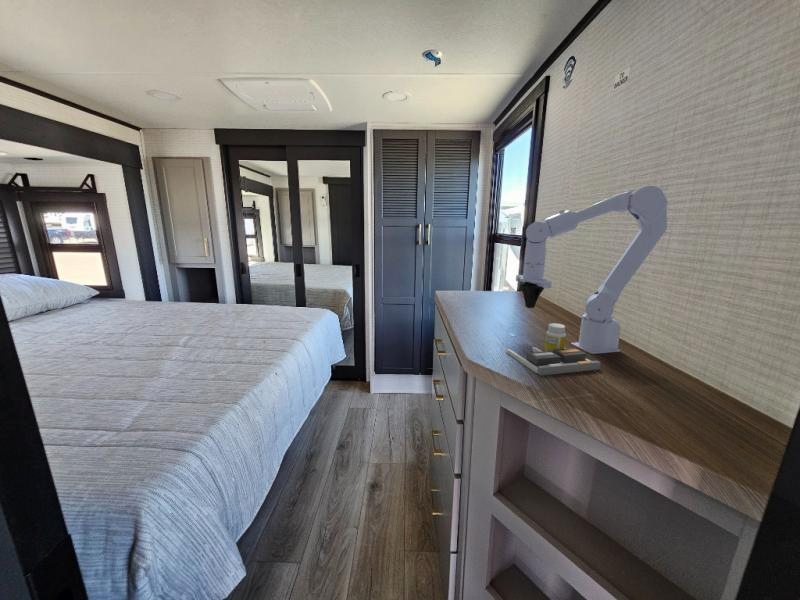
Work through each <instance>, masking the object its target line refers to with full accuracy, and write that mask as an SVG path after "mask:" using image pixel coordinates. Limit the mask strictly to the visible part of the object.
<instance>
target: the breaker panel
mask: <svg viewBox="0 0 800 600" xmlns="http://www.w3.org/2000/svg"><path fill="white" fill-rule="evenodd" d="M564 349H567V348H566V347H565V348H564ZM531 351H532V352H540V351H542V350H541V349H539V348H537V347H535V346H534V347H532V348H531ZM506 354H508V355H509V356H511V357H512V358H513V359H515V360H517V361H518V363H519V362H520V364H522V365H524V366H525V367H527V368H528V369H529V370H532V372H534V373H535V374H537V375H538V376H548V375H558V374H559V375H560V374H566V373H579V372H586V371H596V370H600V369H601V361H599V360H591V359H588V358H586V360H585V361H580V362H577V363H567V364H564V363H562V362H561V361H560V363H558V364H548V365H546V366H538V367H536V366H535V365H533V364H532V363H530V362H529V361H527V358H525V357H523V356H521V355H520V354H518V353H516V352H515V351H514V350H512V349H511V348H507V349H506Z"/></svg>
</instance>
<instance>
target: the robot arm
mask: <svg viewBox="0 0 800 600" xmlns="http://www.w3.org/2000/svg"><path fill="white" fill-rule="evenodd" d="M633 192H634V193H633ZM668 201H669V200H668V198H667V197H666V195H665V194H664V191H663V190H662V189H661V188H660V187H658V186H655V185H646V186H642V187H640V188H638V189H636V190H635V189H632V190H629V191H625V192H622V193H619V194H615V195H613V196H611V197H609V198H606V199H603V200H602V201H599V202H597V203H594V204H592V205H590V206H587V207H585V208H583V209H580V210H577V211H574V210H572V209H571V210H570V209H568V210H567V209H566V210H564V209H561V210H559V211H558V213H557V214H554V215H552V216H549V217H547V218H546V217H541V218H540V219H541V220H540V221H534V222H532V223H530V224H529V225H528V226H527V228H526V230H525V237H526V243H525V245H526V246H525V250H524V263H523V274H517V275H515V282H521V283H522V284H519V288H520V290H521V291H522V294H523V298H524V304H525V305H524V306H525V307H526V308H527V309H534V308H535V307H536V304H537V302H538V299H539V297H540V295H541V293H543V291H544V290H545V289H552V286H553V285H552V284H553V282H552V280H551V281H550V280H548V279H546V278H544V276H545V267H546V255H547V248H546V246H547V239H548V238H554V237H557V236H560V235H563V234H566V233H569V232H571V231H574V230H576V229H577V227H578V225H579V224H580V223H582V222H585V221H588V220H591V219H593V218H597V217H599V216H602V215H606V214H608V213H611V212H618V213H625V212H627V211H628V212H629V213H630V214H631V216H632V217H634V218H635V219H636V223H637V225H638V226H637V227H638V228H639V231H638V232H637V234H636V235H635V236H634V238H633V239H632V241H631V243H630V244H629V245H628V246H627V248H626V250H624V252H623V254H622V256H621V257H620V258H619V260H618V261H617V263H616V264H615V266H614V267H613V268H612V270H611V271H610V273H609V274H608V275H607V277H606V278H605V279H604V281H603V282H602V283H601V285H600V286H599V287H598V288H597V290H596V291H595V292H593V293H591V294H589V295H588V296H587V297H586V299H585V303H584V304H585V312H584V313H583V314H582V315H581V323H580V328H579V337H578V342H577V341H575V342H571V343H570V345H572V346H574V347H576V348H578V349H580V350H581V351H582V350H583V352H587V353H589V354H590V355H591V354H592V355H596V354H607V353H609V354H610V353H619V352H620V351H621V350H620V349H619V344H620V343H619V342H620V341H619V340H620V335H621V330H622V329H621V324H620V322H618V320H616V319H615V318H613V317H612V316H613V314H614V307H615V304H616V303H617V302H618V300H619V298H620V296H621V294H622V291H624V289H625V288H626V286H627V285H628V284H629V282H630V281H631V279H632V278H633V276H634V275H635V273H636V272H638V271H637V270H638V269H639V268H640V267H641V265H642V264H643V263H644V261H645V260H646V259H647V257H648V256H649V254H650V253H651V252H652V251H653V249H654V248H655V246H656V245H657V244H658V242H659V241H660V239H661V238H663V236H664V235H665V233H666V232H667V228H668V214H667V213H668V204H669V203H668Z"/></svg>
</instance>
